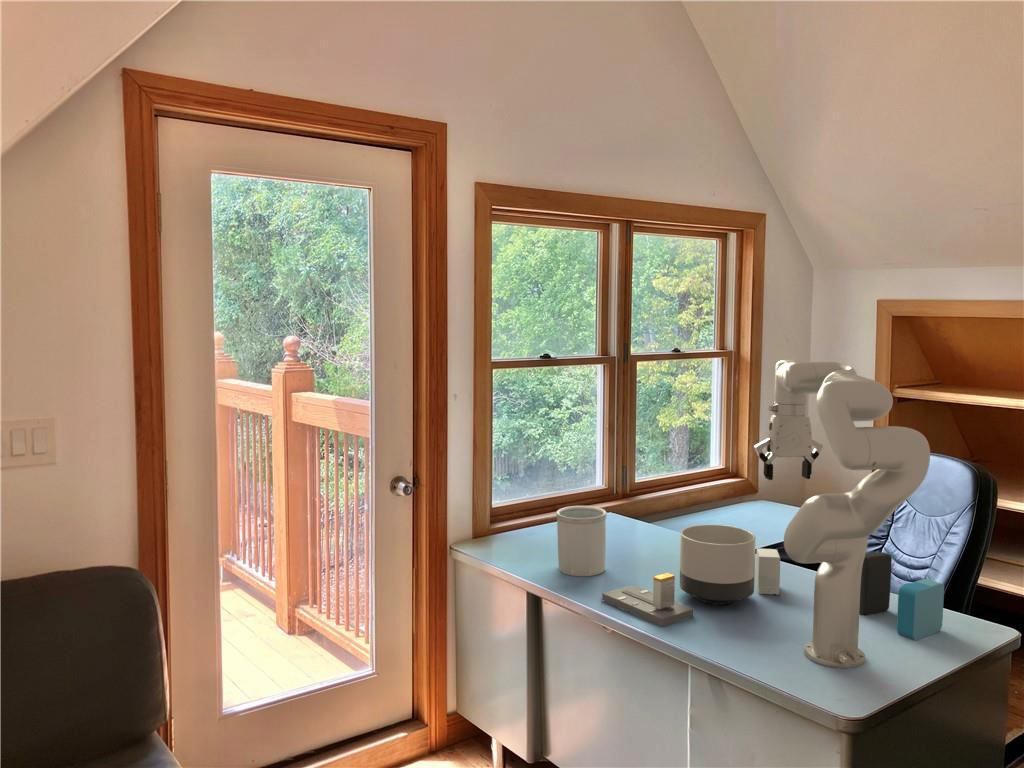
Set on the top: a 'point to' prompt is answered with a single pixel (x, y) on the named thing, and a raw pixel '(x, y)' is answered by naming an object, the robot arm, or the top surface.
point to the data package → (920, 609)
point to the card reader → (875, 583)
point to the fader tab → (663, 590)
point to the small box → (768, 571)
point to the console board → (646, 605)
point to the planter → (717, 563)
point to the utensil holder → (581, 540)
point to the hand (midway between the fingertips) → (787, 478)
